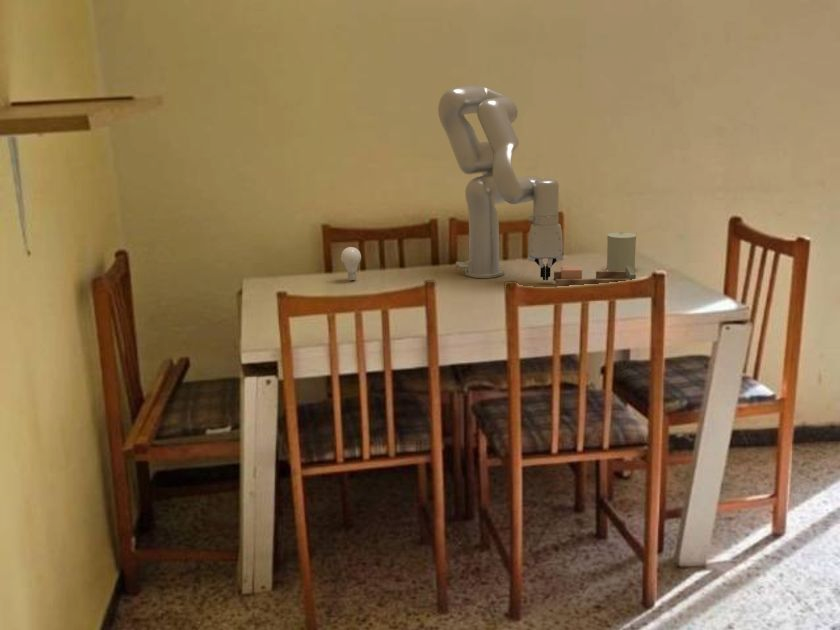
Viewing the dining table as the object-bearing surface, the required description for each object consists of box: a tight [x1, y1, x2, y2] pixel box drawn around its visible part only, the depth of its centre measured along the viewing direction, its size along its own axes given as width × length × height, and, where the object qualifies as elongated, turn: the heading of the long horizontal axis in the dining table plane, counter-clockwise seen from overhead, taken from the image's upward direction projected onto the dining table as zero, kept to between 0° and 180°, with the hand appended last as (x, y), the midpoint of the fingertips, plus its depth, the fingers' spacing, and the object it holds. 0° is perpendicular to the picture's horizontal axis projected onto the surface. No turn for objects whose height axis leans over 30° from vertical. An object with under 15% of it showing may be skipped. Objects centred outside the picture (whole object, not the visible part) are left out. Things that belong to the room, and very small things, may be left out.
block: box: [560, 265, 583, 279], centre depth 274 cm, size 6×6×5 cm
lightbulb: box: [340, 246, 362, 282], centre depth 284 cm, size 6×6×11 cm
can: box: [605, 231, 637, 272], centre depth 288 cm, size 9×9×12 cm
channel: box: [553, 266, 637, 288], centre depth 273 cm, size 24×12×4 cm, turn 84°
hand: (545, 279), depth 275 cm, fingers closed
